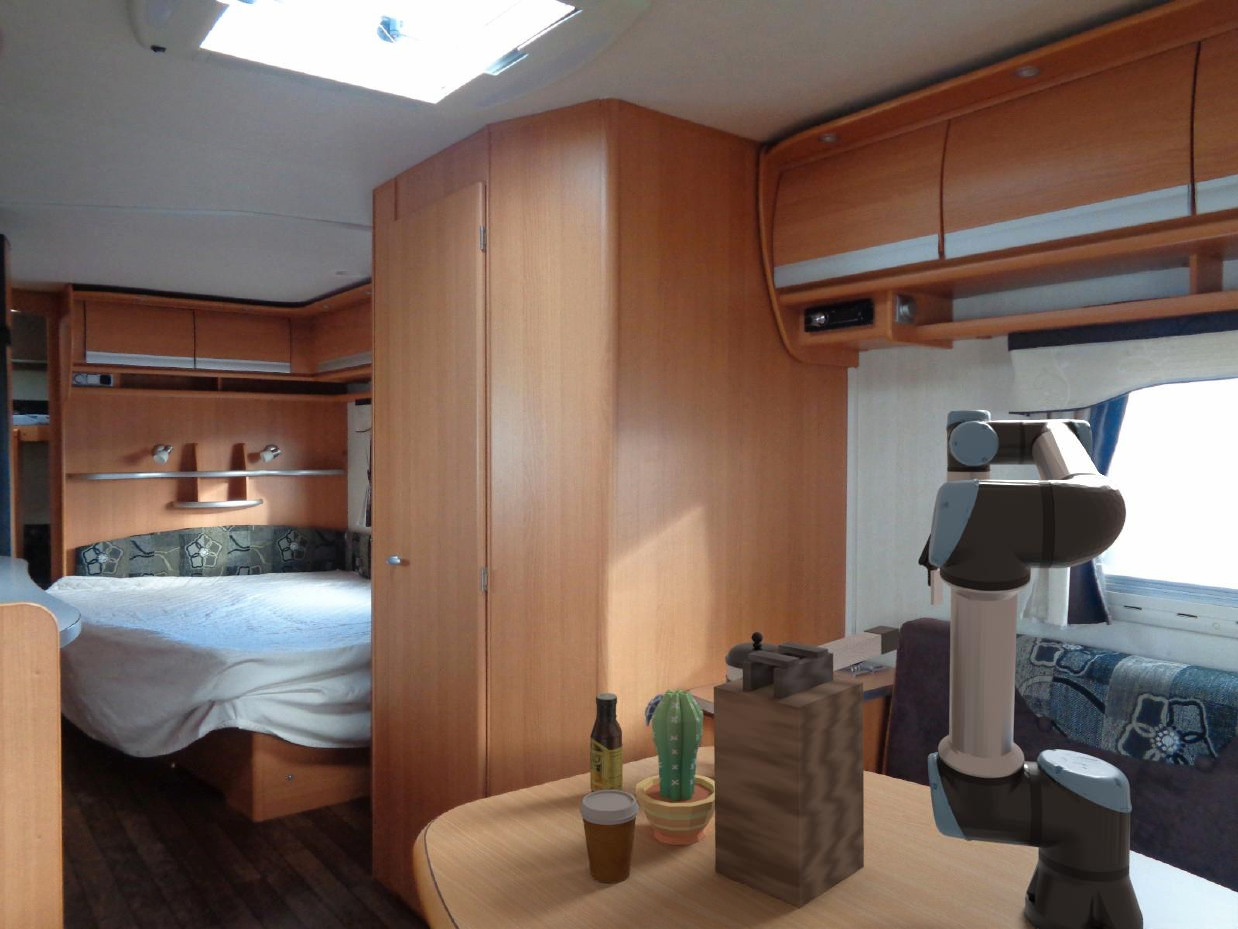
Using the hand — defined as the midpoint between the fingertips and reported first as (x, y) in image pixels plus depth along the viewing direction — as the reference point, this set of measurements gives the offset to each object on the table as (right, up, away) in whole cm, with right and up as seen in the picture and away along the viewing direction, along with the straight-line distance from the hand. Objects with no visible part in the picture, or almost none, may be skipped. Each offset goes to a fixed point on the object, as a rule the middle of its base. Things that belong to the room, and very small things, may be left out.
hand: (968, 610), depth 173 cm
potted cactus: (-54, -38, -8) cm, 66 cm away
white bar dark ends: (-24, -7, -10) cm, 27 cm away
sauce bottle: (-66, -38, +9) cm, 77 cm away
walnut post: (-37, -38, -22) cm, 57 cm away
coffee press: (-37, -37, +17) cm, 55 cm away
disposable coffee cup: (-66, -39, -22) cm, 79 cm away
